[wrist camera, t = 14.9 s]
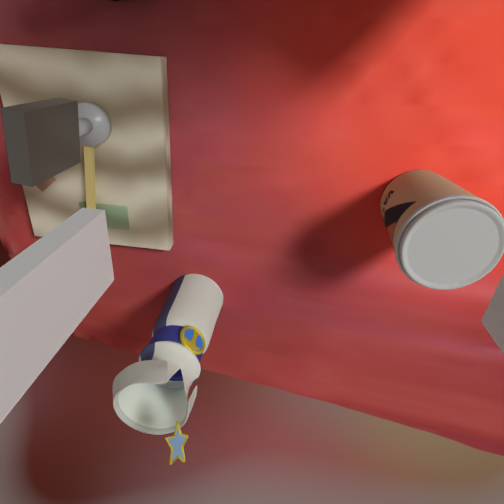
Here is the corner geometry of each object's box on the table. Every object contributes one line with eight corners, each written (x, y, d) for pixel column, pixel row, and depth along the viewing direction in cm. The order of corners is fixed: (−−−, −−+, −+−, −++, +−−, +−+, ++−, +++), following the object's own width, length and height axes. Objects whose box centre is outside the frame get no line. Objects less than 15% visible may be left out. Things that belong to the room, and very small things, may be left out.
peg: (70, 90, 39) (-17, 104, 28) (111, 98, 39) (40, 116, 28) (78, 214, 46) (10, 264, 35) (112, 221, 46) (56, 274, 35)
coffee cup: (368, 172, 42) (393, 211, 31) (456, 153, 40) (514, 188, 30) (376, 243, 46) (401, 299, 36) (457, 229, 44) (508, 284, 34)
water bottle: (193, 259, 50) (115, 420, 28) (237, 298, 52) (197, 475, 30) (155, 291, 53) (59, 458, 31) (198, 327, 55) (137, 506, 34)
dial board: (1, 43, 39) (-14, 43, 37) (166, 56, 38) (159, 57, 36) (43, 229, 50) (33, 236, 48) (173, 243, 49) (168, 251, 47)
